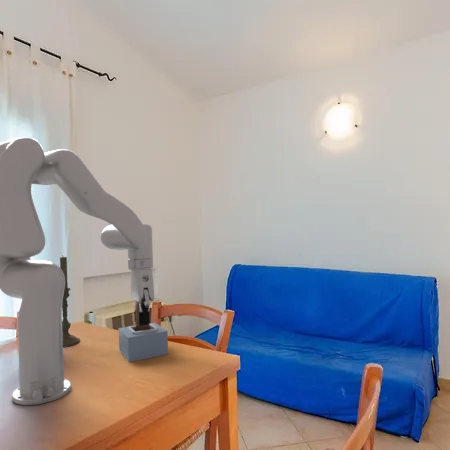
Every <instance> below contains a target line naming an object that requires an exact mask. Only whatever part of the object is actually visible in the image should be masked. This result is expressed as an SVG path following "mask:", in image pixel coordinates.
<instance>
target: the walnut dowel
mask: <svg viewBox="0 0 450 450" xmlns="http://www.w3.org/2000/svg"><path fill="white" fill-rule="evenodd" d="M134 301H135V302H134V305H135V307H134V312H135V311H136V322H135V325H136V331H142V330H148V329H149V324H148V325H141V326H140V325H139V312H140V308H139V302H138V301H136V300H134ZM141 302H144V300H142V301H141ZM142 305H143V304H142Z"/></svg>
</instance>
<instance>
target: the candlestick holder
mask: <svg viewBox="0 0 450 450" xmlns="http://www.w3.org/2000/svg"><path fill="white" fill-rule="evenodd" d="M59 267H60V268H61V270H62V271H63V273H64V276H65V289H64V295H63V301H62V335H63V348H66V347H71V346H74V345H77V344H79V343H80V341H81V340H80V337H79V338H78V337H76V336H75V335H73V334H71V333H70V332H69V330H70V328H71V322H69V320H68V307H69V304H68V298H69V297H70V293H69V292H70V291H71V287H69V286H68V285H69V284H68V283H69V282H68V257H66V256H64V255H61V256H60V257H59Z"/></svg>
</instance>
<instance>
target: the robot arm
mask: <svg viewBox="0 0 450 450" xmlns="http://www.w3.org/2000/svg"><path fill="white" fill-rule="evenodd" d="M33 185H39V186H40V185H41V186H52V185H57V186H58V187H59V188H60V189H61V190H62V191H63V193H64V194H65V195H66V196H67V198H69V200H70V201H71V202H72V203H73V205H74V206H75V207H76V209H78V210H79V211H80V212H82V213H83V214H85V215H88V216H91V217H94V218H96V219H99V220H102V221H104V222H106V223H108V224H110V225H107V226H106V227H104V228H103V230H102V231H101V232H100V241H101V243H102V245H103V246H104V247H105V248H107V249H110V250H117V251H121V250H126V251H127V264H128V265H127V267H128V268H127V269H128V271H130V294H131V298H132V299H133V300H134V302H133V303H135V300H136V301H138V302H139V308H140V312H139V325H140V326H141V325H148V324H150V323H151V320H150V316H151V315H150V314H151V313H150V305H151V302H154V301H155V287H154V277H153V268H154V257H153V255H154V253H153V252H154V251H153V229H152V226H151V225H149V224H146V223H145V224H144V223H142V221H141V220H140V218H139V217H138V215H137V214H136V213H135V212H134V210H133V209H131V208H130V207H129V206H127V205H126V204H125V203H124V202H122V201H120V200H119V199H117V198H116V197H114V196H113V195H111V194H110V193H108V192H107V191H106V190H104V188H103V187H102V186H101V184H100V183H99V182H98V180H97V179H96V178H95V176H94V175H93V174H92V172H91V171H90V170H89V168H88V167H87V166H86V164H85V163H84V162H83V160H82V159H81V158H80V157H79V155H78V154H77V153H76V152H74V151H72V150H70V149H56V150H51V151H47V152H44V149H43V146H42V145H41V143H40V142H39V141H38V140H37V139H35V138H33V137H26V136H24V137H23V136H22V137H17V138H12V139H8V140H6V141H2V142H0V291H1V292H2V293H3V294H5V295H6V296H8V297H10V298H15V299H20V300H21V303H20V307H19V310H18V314H17V315H18V316H17V341H18V342H17V344H18V346H17V347H18V349H17V351H18V377H19V378H18V379H19V380H18V381H19V383H18V384H19V387H17V388H16V389H14V391H13V392H12V394H11V396H12V397H11V399H12V401H13V402H14V403H15V404H17V405H21V406H23V405H24V406H33V405H35V406H36V405H41V404H45V403H49V402H53V401H56V400H58V399H60V398H62V397H64V396H65V395H67V394H68V393H69V392H70V391H71V388H72V383H71V381H69V380H68V379H66V378H65V376H64V375H65V374H64V347H63V335H62V321H63V315H62V314H63V313H62V312H63V311H62V301H63V295H64V289H65V276H64V273H63V271H62V270H61V268H60V265H58V264H56V263H54V262H52V261H48V260H42V259H31V258H33V257H36V256H38V255H40V254H41V253H42V252H43V250H44V249H45V246H46V236H45V235H46V234H45V232H44V229H43V226H42V224H41V221H40V218H39V215H38V212H37V209H36V206H35V203H34V200H33V195H32V186H33ZM142 300H144V302H141V301H142ZM142 304H143V305H142ZM134 308H135V304H134ZM134 322H135V323H136V311H135V310H134Z"/></svg>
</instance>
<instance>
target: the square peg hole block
mask: <svg viewBox="0 0 450 450" xmlns="http://www.w3.org/2000/svg"><path fill="white" fill-rule="evenodd" d="M118 350H119V352H120V353H121V354H122V355H123V357H124V358H125V359H126V360H127V362H130V363H131V362H134V361H140V360H141V361H142V360H145V359H151V358H154V357H160V356H166V355H169V341H168V330H166V329H165V328H164V327H162V326H161V325H159V323H156V322H150V324H149V329H148V330H142V331H136V324H135V325H129V326H125V327H118Z"/></svg>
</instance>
